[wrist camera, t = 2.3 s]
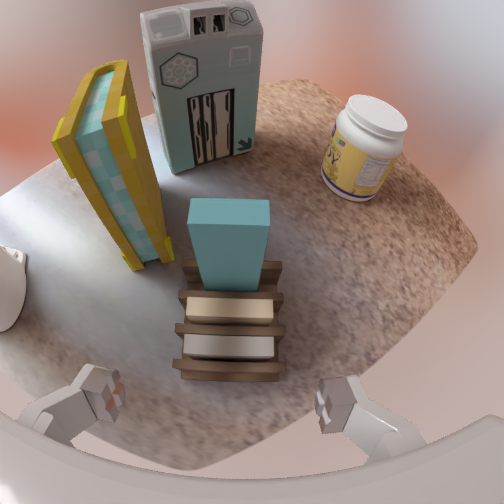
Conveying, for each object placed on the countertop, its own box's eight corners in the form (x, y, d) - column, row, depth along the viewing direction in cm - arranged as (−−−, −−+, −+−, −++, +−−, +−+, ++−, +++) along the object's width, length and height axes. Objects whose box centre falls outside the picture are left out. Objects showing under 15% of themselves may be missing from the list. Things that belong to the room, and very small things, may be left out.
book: (175, 260, 39) (123, 115, 17) (133, 271, 38) (51, 141, 16) (161, 180, 47) (132, 55, 25) (127, 190, 45) (84, 70, 23)
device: (173, 176, 47) (145, 18, 21) (163, 153, 50) (139, 13, 24) (253, 152, 51) (266, 5, 25) (238, 131, 55) (243, -1, 28)
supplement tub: (313, 157, 52) (333, 86, 37) (365, 161, 53) (393, 99, 38) (326, 203, 46) (358, 127, 31) (384, 206, 47) (425, 141, 32)
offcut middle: (195, 329, 33) (185, 314, 27) (196, 314, 34) (187, 296, 28) (266, 331, 34) (273, 317, 27) (265, 316, 35) (272, 299, 28)
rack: (183, 378, 31) (171, 376, 26) (191, 266, 39) (184, 244, 33) (276, 381, 32) (285, 380, 26) (274, 269, 39) (280, 247, 34)
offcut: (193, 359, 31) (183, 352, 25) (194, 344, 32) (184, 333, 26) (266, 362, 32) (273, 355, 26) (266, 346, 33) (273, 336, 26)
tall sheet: (208, 301, 35) (187, 223, 19) (209, 284, 36) (191, 197, 20) (254, 303, 35) (270, 225, 19) (254, 286, 36) (269, 199, 21)
